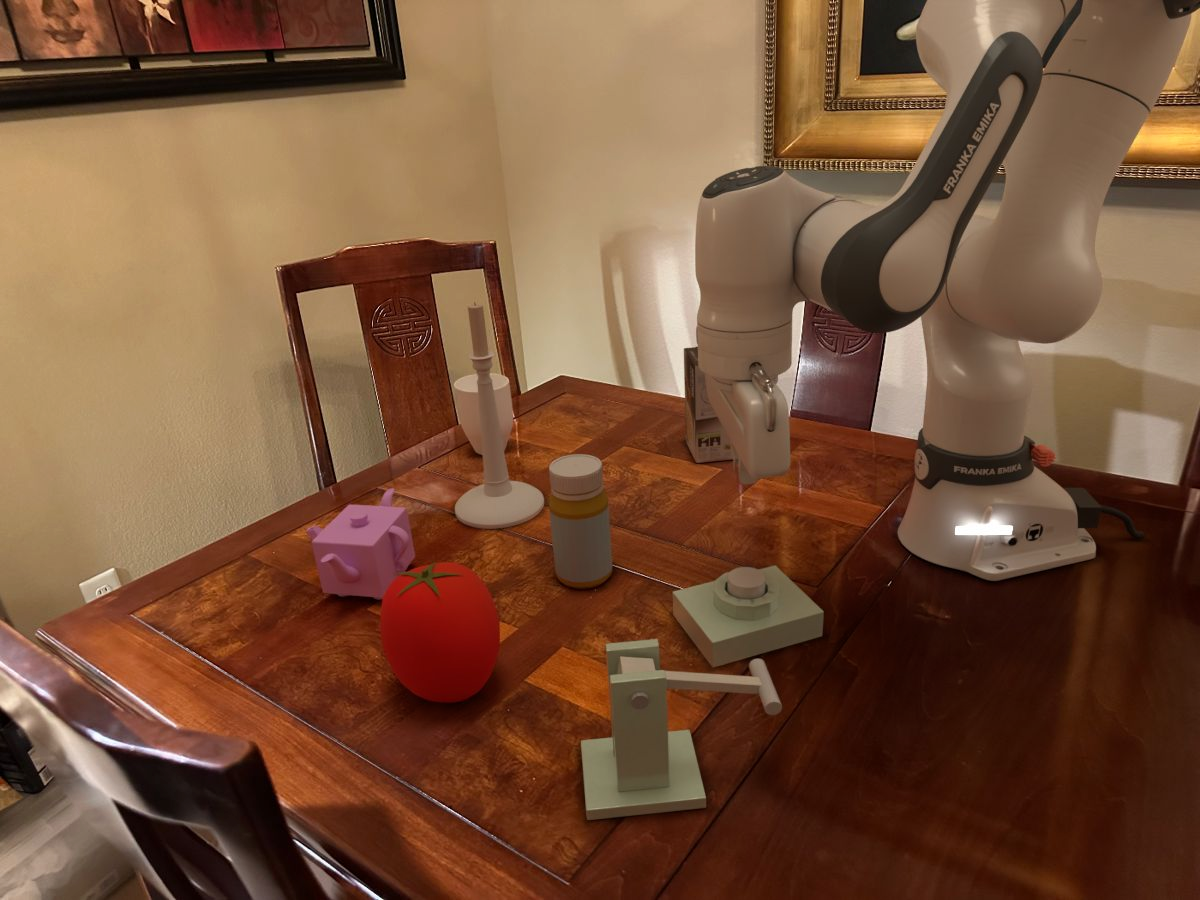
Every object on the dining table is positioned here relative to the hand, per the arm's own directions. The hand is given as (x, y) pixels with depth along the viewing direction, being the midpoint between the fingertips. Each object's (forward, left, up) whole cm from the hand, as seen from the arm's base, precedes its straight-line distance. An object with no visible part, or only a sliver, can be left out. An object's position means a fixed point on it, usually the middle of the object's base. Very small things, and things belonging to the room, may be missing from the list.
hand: (745, 478), depth 86 cm
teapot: (+44, -15, -18) cm, 50 cm away
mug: (+30, -54, -18) cm, 64 cm away
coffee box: (-5, -45, -18) cm, 49 cm away
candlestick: (+28, -32, -18) cm, 46 cm away
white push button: (0, +1, -13) cm, 13 cm away
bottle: (+17, -12, -18) cm, 28 cm away
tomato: (+32, +6, -18) cm, 37 cm away
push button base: (0, +1, -18) cm, 18 cm away
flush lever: (+9, +21, -9) cm, 24 cm away
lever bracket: (+14, +21, -18) cm, 31 cm away
